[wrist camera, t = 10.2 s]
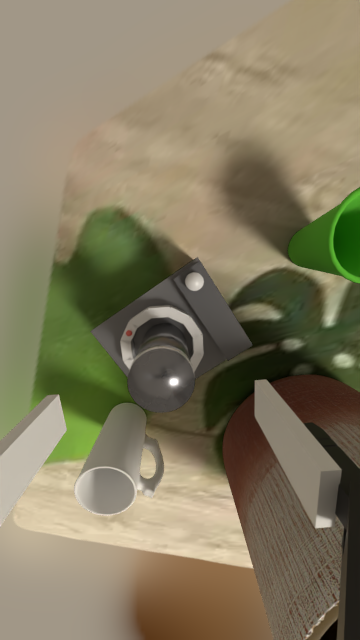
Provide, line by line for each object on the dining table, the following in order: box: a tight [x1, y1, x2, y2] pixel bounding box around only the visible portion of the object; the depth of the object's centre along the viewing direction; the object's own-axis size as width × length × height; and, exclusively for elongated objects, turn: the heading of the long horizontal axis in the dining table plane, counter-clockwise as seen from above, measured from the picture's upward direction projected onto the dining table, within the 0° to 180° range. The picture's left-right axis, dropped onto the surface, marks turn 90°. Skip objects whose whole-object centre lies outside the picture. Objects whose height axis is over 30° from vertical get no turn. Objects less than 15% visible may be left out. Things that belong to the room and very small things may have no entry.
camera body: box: [91, 257, 252, 379], centre depth 28 cm, size 16×13×7 cm
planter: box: [223, 375, 360, 640], centre depth 26 cm, size 25×25×22 cm
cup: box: [288, 187, 360, 283], centre depth 25 cm, size 9×9×11 cm
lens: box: [127, 323, 195, 413], centre depth 22 cm, size 6×6×10 cm
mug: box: [74, 403, 164, 515], centre depth 29 cm, size 10×7×12 cm, turn 66°
